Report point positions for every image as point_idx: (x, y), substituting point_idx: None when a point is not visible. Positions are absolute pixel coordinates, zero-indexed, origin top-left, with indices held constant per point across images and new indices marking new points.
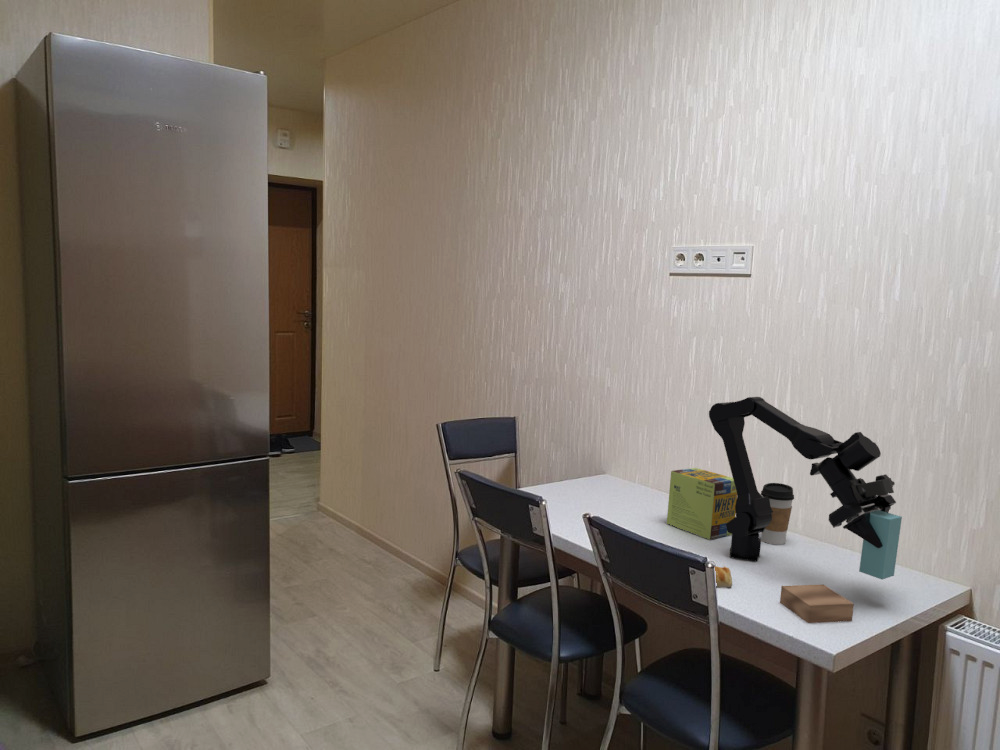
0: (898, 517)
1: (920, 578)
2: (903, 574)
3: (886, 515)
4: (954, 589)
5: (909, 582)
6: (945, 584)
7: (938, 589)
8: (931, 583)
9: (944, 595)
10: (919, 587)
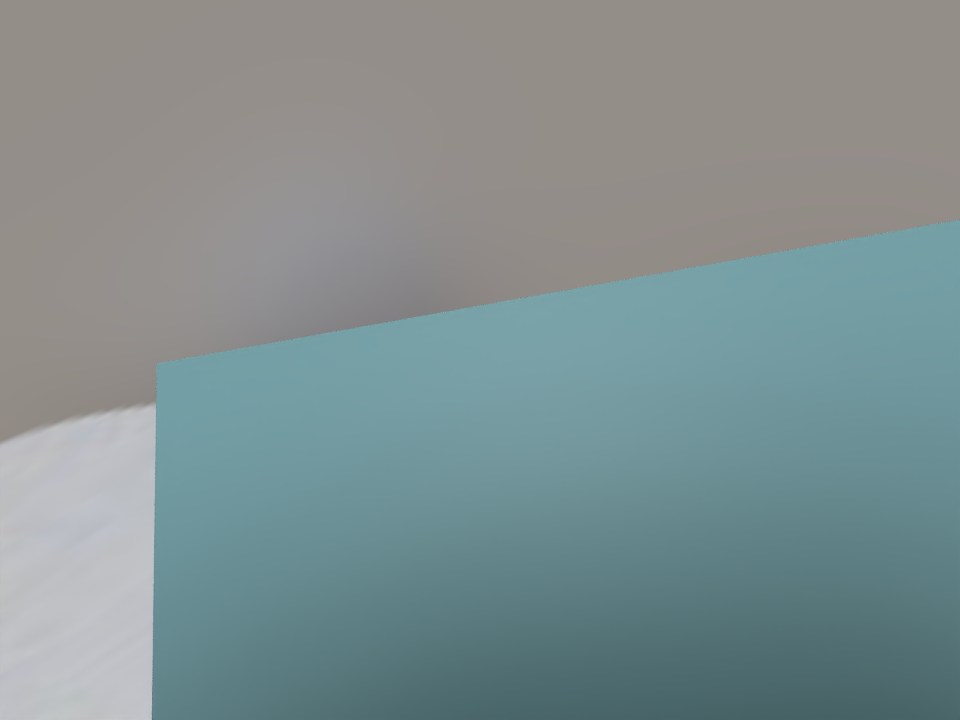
0: (374, 325)
1: (25, 612)
2: (42, 691)
3: (625, 665)
4: (34, 452)
5: (125, 602)
6: (5, 507)
7: (95, 482)
8: (47, 544)
9: (144, 426)
10: (148, 537)
